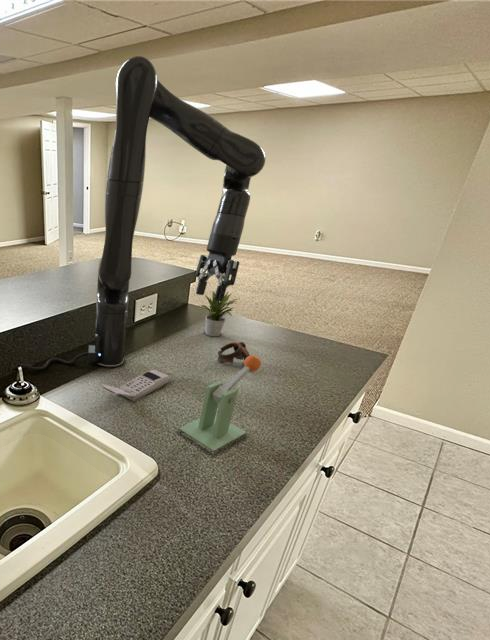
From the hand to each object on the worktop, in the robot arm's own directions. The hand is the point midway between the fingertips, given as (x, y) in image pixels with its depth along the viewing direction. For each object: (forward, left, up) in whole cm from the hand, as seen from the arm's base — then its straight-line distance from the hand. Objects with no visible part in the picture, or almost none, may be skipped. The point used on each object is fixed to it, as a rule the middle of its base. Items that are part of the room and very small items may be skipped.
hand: (208, 297), depth 109 cm
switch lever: (+2, -26, -12) cm, 29 cm away
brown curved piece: (+15, +8, -24) cm, 29 cm away
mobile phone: (-18, -11, -24) cm, 32 cm away
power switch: (-3, -30, -24) cm, 38 cm away
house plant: (+15, +32, -24) cm, 43 cm away
